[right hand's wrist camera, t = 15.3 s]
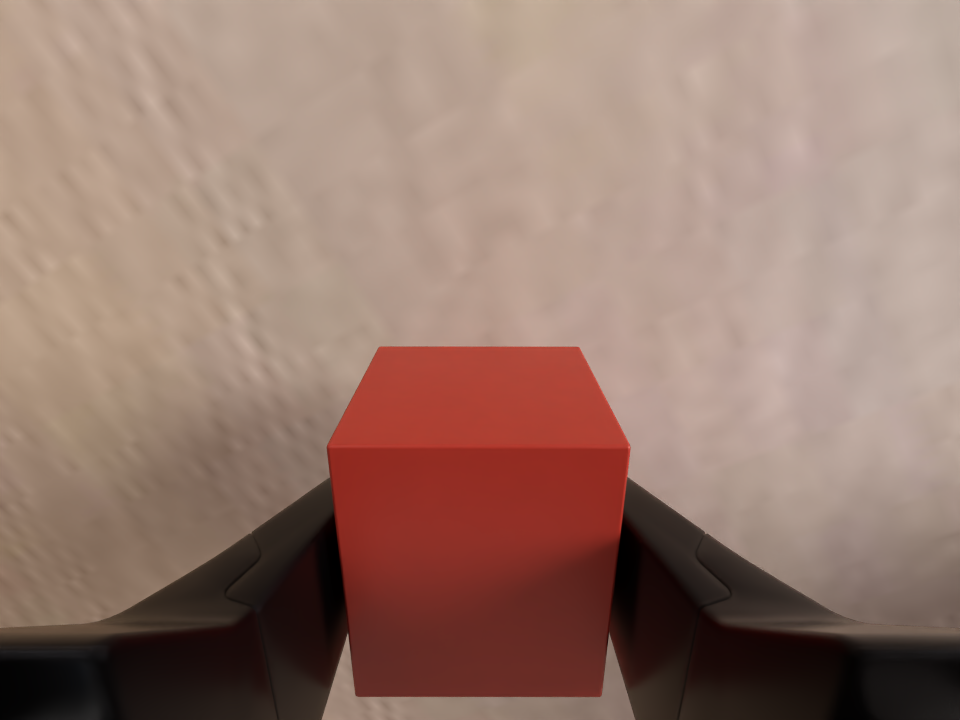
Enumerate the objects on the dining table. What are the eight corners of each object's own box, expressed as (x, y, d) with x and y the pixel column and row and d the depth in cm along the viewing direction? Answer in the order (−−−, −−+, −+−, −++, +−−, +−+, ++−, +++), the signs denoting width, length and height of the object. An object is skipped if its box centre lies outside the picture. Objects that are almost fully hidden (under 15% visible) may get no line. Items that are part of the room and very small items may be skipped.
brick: (579, 345, 12) (632, 445, 8) (566, 537, 13) (602, 698, 9) (378, 345, 12) (325, 445, 8) (392, 537, 13) (354, 698, 9)
